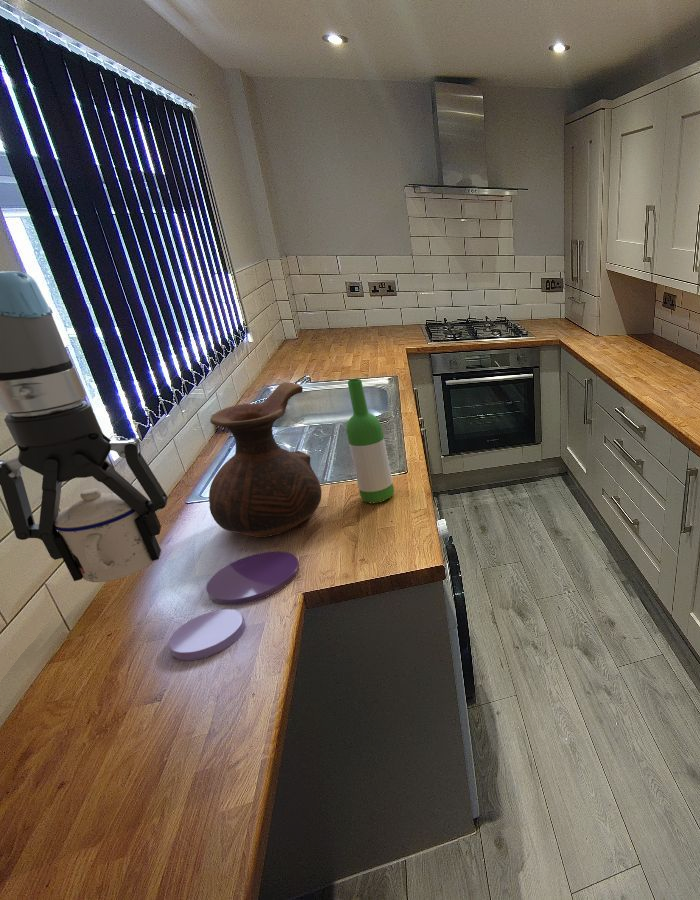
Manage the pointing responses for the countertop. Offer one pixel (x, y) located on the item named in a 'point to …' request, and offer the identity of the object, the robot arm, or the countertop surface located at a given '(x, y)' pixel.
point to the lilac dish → (207, 634)
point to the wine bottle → (368, 449)
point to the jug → (262, 472)
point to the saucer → (252, 577)
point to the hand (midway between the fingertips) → (119, 564)
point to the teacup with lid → (103, 536)
